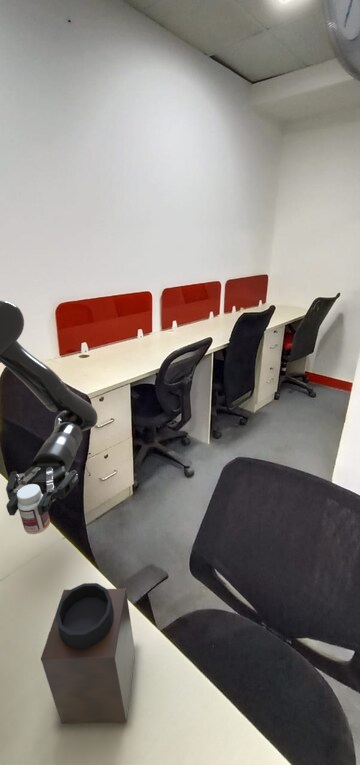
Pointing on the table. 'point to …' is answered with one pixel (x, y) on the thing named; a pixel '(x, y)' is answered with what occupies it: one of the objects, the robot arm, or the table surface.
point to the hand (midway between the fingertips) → (25, 511)
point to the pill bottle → (31, 509)
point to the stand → (93, 670)
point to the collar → (85, 615)
